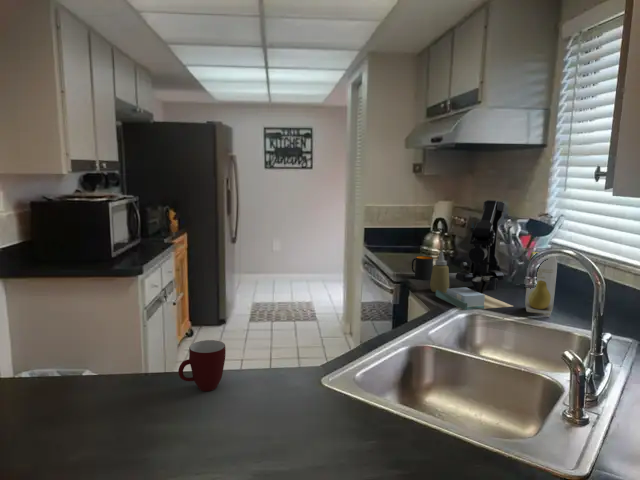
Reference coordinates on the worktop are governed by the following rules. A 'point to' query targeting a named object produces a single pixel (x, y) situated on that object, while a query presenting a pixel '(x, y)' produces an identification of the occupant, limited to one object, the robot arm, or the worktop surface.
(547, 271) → the juice carton
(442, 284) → the squeeze bottle
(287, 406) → the worktop surface
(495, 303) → the display board
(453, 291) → the carton
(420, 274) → the mug
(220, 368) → the mug
